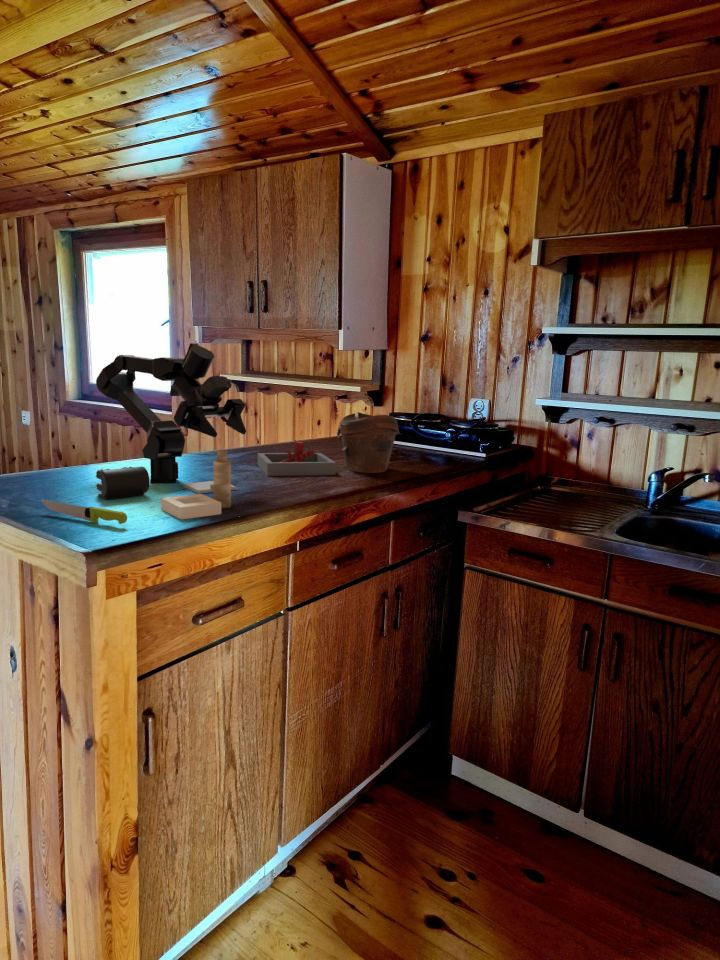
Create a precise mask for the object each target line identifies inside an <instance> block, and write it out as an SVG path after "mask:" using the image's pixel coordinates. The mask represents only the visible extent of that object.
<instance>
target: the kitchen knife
mask: <svg viewBox="0 0 720 960" xmlns="http://www.w3.org/2000/svg"><path fill="white" fill-rule="evenodd" d="M40 501H41V502H42V504H43V505H44V506H45V507H46V508H48V510H51V511H53V512H56V513H60V514H63V515H67V516H70V517H74V518H77V519H81V520H84V521H88V522H91V524H97V523H99V518H100V519H102V520H104V521H109V522H110V521H117V522H118V525H121V524H125V523H126V522H127V521H128V516H127V513H126V512H124V511H117V510H114V509H108V508H107V509H106V508H102V507H95V506H89V507H88V506H83V505H82V506H81V505H75V504H69V503H65V502H58V501H53V500H52V501H51V500H47V499H42V498H41V499H40Z"/></svg>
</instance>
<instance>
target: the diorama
mask: <svg viewBox="0 0 720 960" xmlns="http://www.w3.org/2000/svg"><path fill="white" fill-rule="evenodd" d="M293 444H294V447H293V448H294V451H293V453H294V458H291V456H290V455H291V453H292V452H291V448H285V452H286V453H288V454H289V456H288V459H287V460H283V461H280V462H306V461H305V460H304V459H303V458H305V457H307V456H310V455H312V454H315V453H316V452H315V450H314V449H312V450H309V451H306V452H304V445H305V444H304V442H302V441H301V440H300V439H299V441H298V440H297V439H294V443H293ZM303 453H304V454H303ZM290 458H291V459H290Z"/></svg>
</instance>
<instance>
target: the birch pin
mask: <svg viewBox="0 0 720 960" xmlns="http://www.w3.org/2000/svg"><path fill="white" fill-rule="evenodd" d="M212 465H213V466H212V467H213V471H212V472H213V473H212V474H213V480H212V481H213V492H212V494H213V496H212V497H213V498H212V499H214V500H216V501H219V502H221V509H227V508H231V507H232V490H231V485H232V461H231V460H228V450H227V449H217V450H216V460H214V461H212Z"/></svg>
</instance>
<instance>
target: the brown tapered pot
mask: <svg viewBox="0 0 720 960" xmlns="http://www.w3.org/2000/svg"><path fill="white" fill-rule="evenodd" d="M398 426H399V425H398V420H397V419H396V418H395V417H394V416H392V415H389V414H375V415H371V414H367V413H361V412H359V411H358V412H356V413H351V414H350V413H349V414H348V415H345V416H344V417H343V418H342V419H341V421H339V424H338V427H337V433H336V437H340V436H341V442H342V449H341V451H342V452H343V455H344V460H345V466H346V469H347V470H348V471H351V472H355V473H363V474H364V473H365V474H375V473H377V474H379V473H383V472H386V471H387V470H388V466H389V463H390V460H391V459H390V458H391V455H392V451H393V447H394V443H395V439H396V435H398V434H400V430H399V427H398Z"/></svg>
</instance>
